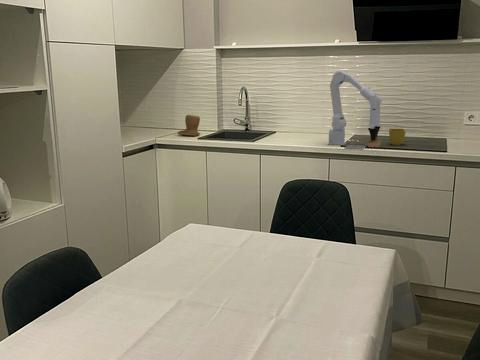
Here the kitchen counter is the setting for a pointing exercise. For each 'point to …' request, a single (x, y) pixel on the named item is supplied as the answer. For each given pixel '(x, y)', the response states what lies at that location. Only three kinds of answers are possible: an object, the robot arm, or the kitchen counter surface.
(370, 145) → the bowl
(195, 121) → the brown hat
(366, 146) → the mat
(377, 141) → the lid
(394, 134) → the flower pot
